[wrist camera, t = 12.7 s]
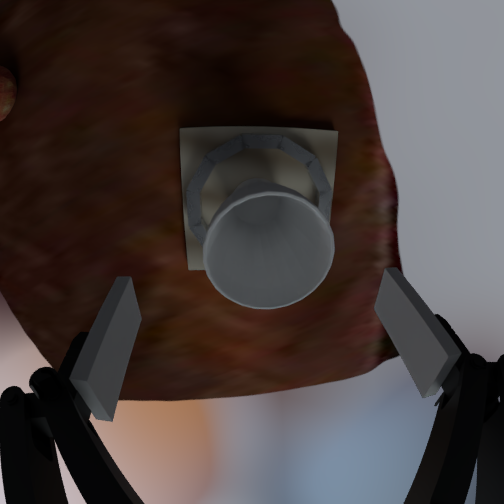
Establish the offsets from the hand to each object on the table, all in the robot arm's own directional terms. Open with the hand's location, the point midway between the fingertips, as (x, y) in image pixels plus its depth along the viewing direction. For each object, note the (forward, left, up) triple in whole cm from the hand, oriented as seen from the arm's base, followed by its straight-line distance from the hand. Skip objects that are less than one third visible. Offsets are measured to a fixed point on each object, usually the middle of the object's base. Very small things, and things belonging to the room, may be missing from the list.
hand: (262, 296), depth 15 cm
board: (+2, +2, -23) cm, 23 cm away
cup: (+2, +2, -22) cm, 22 cm away
